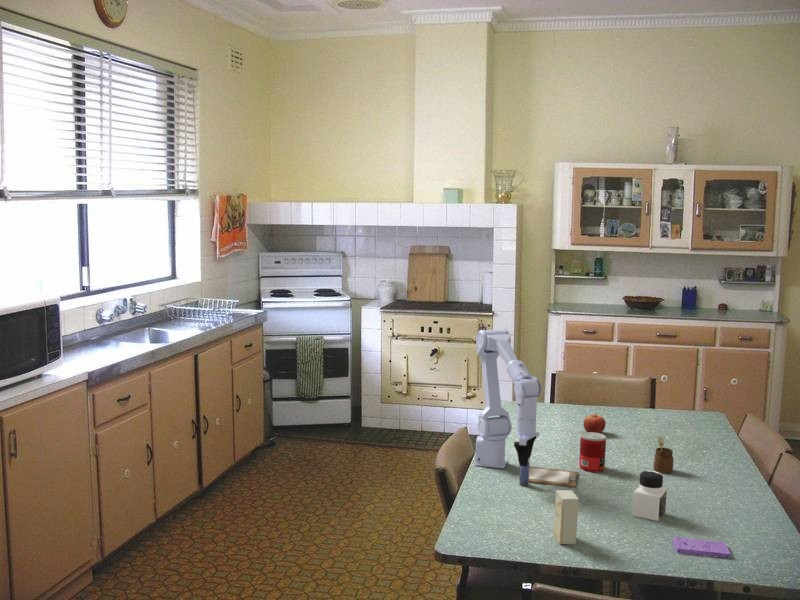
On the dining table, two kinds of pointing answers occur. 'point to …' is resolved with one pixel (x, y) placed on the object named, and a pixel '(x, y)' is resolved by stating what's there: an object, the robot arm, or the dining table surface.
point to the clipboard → (552, 476)
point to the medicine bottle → (650, 496)
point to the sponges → (701, 547)
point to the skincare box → (565, 517)
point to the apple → (594, 423)
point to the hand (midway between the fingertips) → (524, 461)
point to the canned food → (592, 451)
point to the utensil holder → (663, 459)
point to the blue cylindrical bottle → (524, 475)
